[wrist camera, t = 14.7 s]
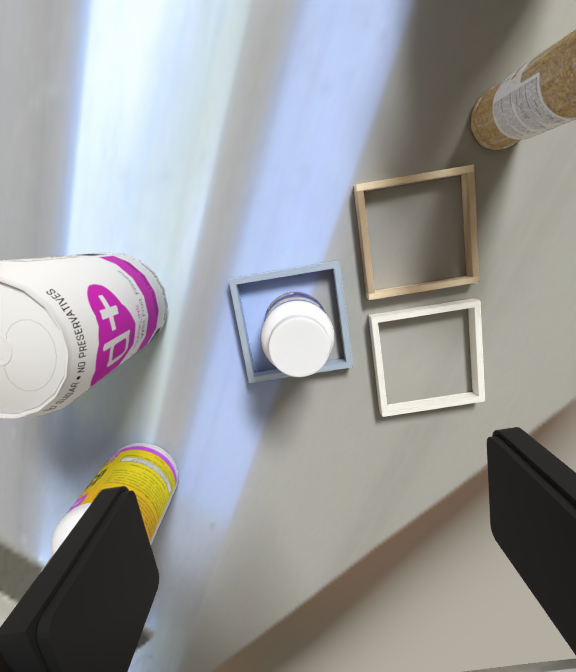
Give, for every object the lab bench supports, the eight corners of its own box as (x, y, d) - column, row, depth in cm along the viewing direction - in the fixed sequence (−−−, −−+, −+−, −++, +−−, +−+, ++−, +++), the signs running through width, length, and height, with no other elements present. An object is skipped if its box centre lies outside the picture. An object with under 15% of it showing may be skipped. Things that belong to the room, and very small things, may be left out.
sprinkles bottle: (516, 75, 29) (701, -57, 16) (535, 134, 30) (724, 55, 17) (458, 105, 30) (595, 1, 17) (479, 163, 31) (623, 107, 18)
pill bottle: (322, 352, 34) (335, 391, 26) (262, 348, 34) (255, 385, 26) (328, 292, 33) (344, 311, 25) (266, 287, 33) (260, 305, 24)
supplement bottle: (121, 429, 36) (36, 529, 24) (190, 454, 37) (141, 565, 24) (100, 488, 37) (8, 612, 25) (166, 511, 38) (109, 644, 26)
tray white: (473, 298, 33) (480, 300, 32) (478, 395, 36) (485, 401, 34) (368, 315, 34) (371, 317, 32) (379, 411, 36) (382, 416, 35)
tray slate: (337, 260, 33) (339, 261, 31) (350, 362, 35) (353, 367, 33) (230, 277, 33) (228, 279, 32) (250, 378, 35) (249, 383, 34)
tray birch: (467, 167, 31) (474, 164, 30) (472, 280, 33) (479, 282, 32) (353, 186, 31) (356, 184, 30) (366, 297, 33) (369, 300, 32)
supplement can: (176, 263, 32) (88, 283, 18) (162, 357, 34) (72, 444, 20) (76, 242, 32) (-97, 244, 17) (68, 338, 34) (-95, 413, 19)
